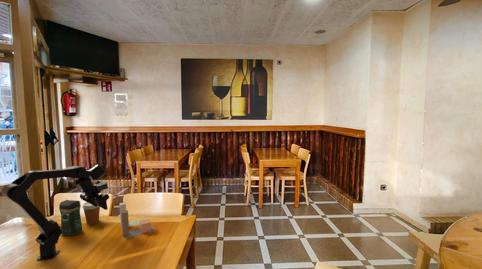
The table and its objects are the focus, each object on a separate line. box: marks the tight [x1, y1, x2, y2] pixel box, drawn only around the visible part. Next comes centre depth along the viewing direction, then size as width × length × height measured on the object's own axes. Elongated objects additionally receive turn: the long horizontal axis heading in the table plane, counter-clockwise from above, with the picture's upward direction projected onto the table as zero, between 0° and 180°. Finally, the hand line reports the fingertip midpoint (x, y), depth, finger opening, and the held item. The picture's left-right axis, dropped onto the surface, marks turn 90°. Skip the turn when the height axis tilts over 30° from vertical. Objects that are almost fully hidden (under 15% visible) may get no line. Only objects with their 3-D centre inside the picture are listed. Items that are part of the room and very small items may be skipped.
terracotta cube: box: [139, 218, 152, 234], centre depth 135 cm, size 5×5×5 cm
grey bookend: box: [119, 202, 152, 229], centre depth 144 cm, size 16×7×14 cm, turn 120°
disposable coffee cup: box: [82, 202, 101, 225], centre depth 148 cm, size 10×10×12 cm
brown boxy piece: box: [121, 209, 156, 239], centre depth 133 cm, size 16×7×14 cm, turn 120°
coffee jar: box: [58, 199, 83, 237], centre depth 134 cm, size 10×8×19 cm
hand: (101, 207), depth 135 cm, fingers open, 9 cm apart
